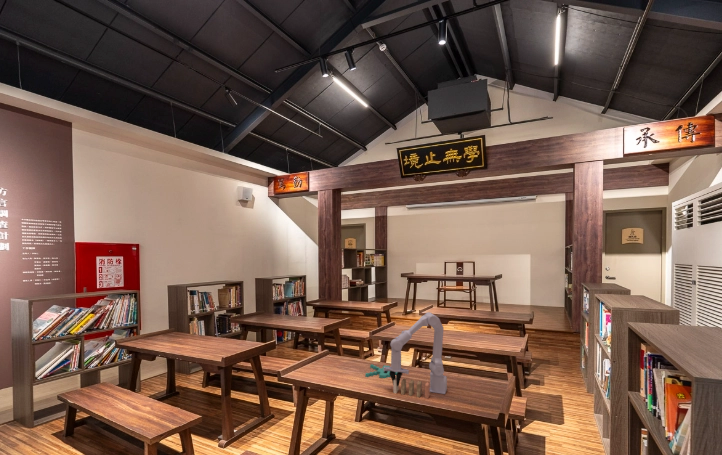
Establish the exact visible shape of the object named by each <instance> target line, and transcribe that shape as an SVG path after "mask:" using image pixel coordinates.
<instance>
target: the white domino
mask: <svg viewBox="0 0 722 455" xmlns="http://www.w3.org/2000/svg"><path fill="white" fill-rule="evenodd" d="M392 385H393V387H392V388H393V394H397V393H398V391H399V390H400V389H399V386H400V384H399V385H398V386H397V377H395V379H394V380H393V382H392Z"/></svg>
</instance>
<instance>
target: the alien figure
mask: <svg viewBox="0 0 722 455" xmlns="http://www.w3.org/2000/svg"><path fill="white" fill-rule="evenodd" d="M369 366H370V367H369V368H370V369H372V370H374V371H370V372H366V373H365V378H370V377H373V376H378V378H379V379H385V378H386V379H387V378H388V377H390V378H391V376H390V374H389V373H390V371H384V367H391V365H386V364H385V365H383V366H382V367H381V368H380V367H379V366H377V365H374V364H370V365H369ZM397 373H398V372H396V374H397Z"/></svg>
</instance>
